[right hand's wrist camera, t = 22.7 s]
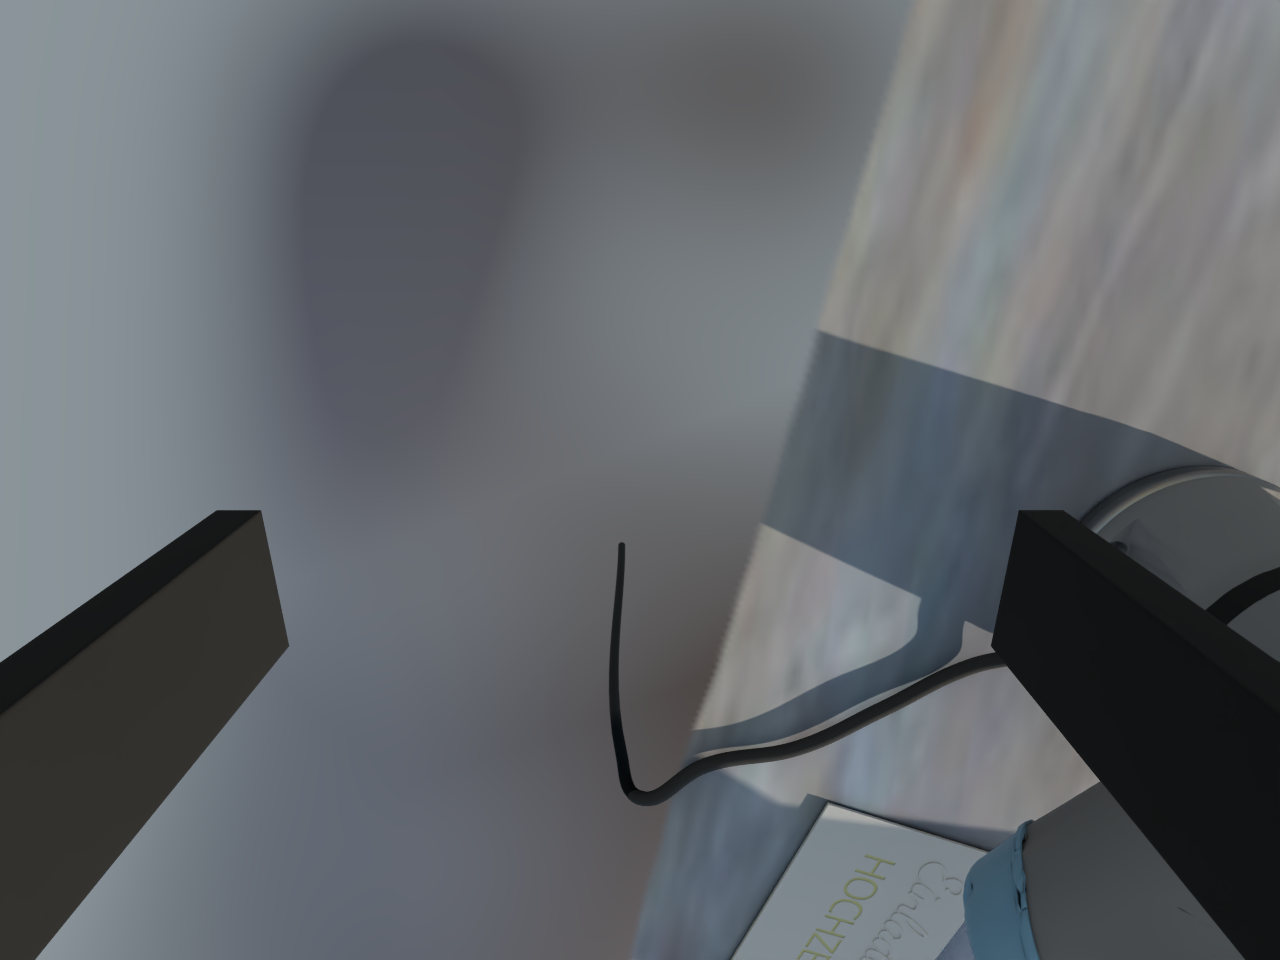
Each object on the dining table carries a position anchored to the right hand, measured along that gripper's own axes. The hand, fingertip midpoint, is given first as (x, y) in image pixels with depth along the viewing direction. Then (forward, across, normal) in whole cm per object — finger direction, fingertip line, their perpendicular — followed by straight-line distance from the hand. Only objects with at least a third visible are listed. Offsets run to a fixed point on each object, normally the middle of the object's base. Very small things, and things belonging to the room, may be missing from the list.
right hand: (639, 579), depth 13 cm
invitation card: (+28, -17, +46) cm, 56 cm away
